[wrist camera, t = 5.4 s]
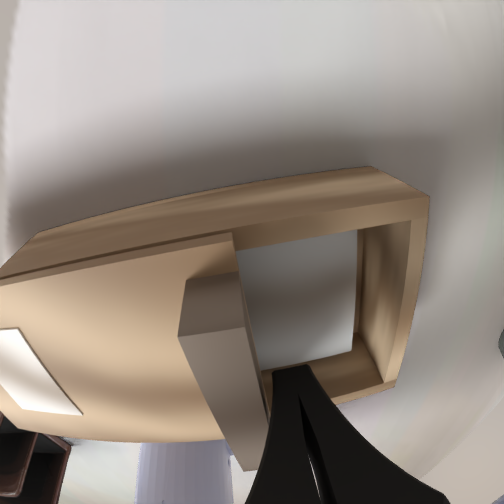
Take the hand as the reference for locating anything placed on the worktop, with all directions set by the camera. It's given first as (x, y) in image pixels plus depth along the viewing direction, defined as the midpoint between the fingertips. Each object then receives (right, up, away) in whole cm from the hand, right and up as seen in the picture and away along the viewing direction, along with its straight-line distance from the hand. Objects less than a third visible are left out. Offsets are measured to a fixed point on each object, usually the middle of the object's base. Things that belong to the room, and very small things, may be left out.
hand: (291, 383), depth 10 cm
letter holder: (-33, -18, +14) cm, 40 cm away
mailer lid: (-10, -1, +1) cm, 10 cm away
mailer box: (-4, +3, +6) cm, 8 cm away
